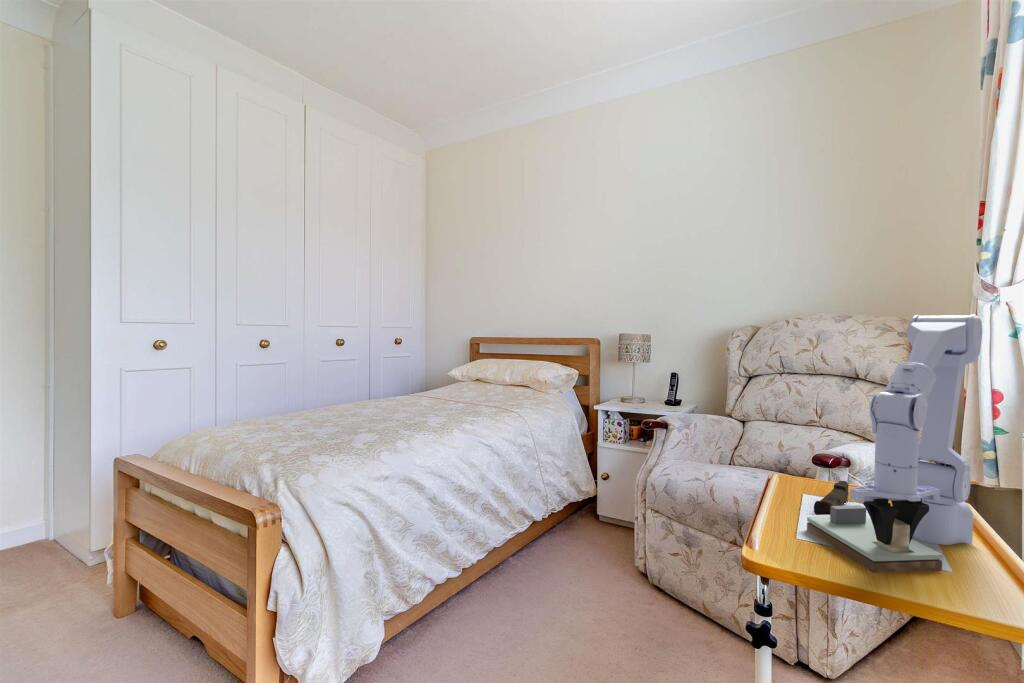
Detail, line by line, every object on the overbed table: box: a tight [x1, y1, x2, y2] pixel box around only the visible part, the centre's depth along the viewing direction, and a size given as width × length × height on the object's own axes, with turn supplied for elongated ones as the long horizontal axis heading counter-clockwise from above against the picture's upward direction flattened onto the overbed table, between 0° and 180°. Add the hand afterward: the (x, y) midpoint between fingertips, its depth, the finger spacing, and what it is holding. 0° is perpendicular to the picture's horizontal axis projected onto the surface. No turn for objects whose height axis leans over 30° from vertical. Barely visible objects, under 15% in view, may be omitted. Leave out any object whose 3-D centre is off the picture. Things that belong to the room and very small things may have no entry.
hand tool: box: [813, 480, 850, 516], centre depth 110 cm, size 19×4×5 cm, turn 131°
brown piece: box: [806, 521, 943, 573], centre depth 87 cm, size 12×16×3 cm
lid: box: [806, 504, 943, 561], centre depth 87 cm, size 12×16×4 cm
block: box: [877, 518, 910, 553], centre depth 82 cm, size 3×3×7 cm
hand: (893, 541), depth 82 cm, fingers closed on block, 3 cm apart
